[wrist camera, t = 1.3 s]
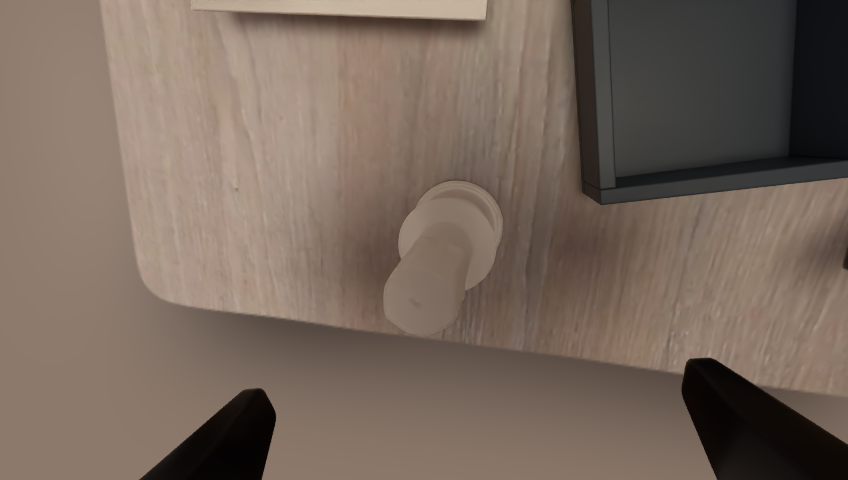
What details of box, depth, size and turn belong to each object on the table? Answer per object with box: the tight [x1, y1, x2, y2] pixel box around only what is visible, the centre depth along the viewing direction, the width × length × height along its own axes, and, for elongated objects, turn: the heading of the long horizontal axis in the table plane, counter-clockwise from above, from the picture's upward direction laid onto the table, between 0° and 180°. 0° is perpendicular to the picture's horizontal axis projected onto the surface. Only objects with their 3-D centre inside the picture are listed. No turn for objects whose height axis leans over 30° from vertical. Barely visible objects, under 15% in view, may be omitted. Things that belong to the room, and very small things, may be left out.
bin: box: [571, 0, 848, 205], centre depth 17 cm, size 10×10×4 cm
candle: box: [383, 181, 503, 336], centre depth 18 cm, size 5×5×12 cm
